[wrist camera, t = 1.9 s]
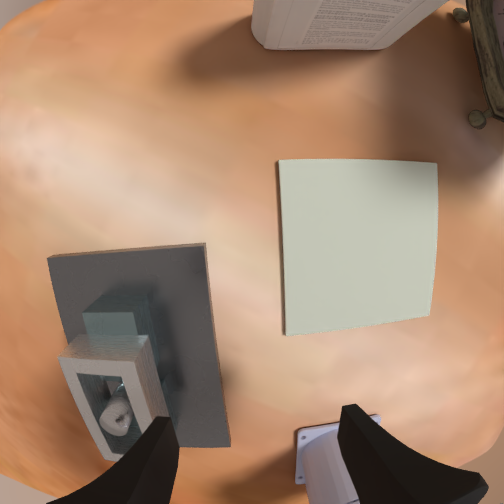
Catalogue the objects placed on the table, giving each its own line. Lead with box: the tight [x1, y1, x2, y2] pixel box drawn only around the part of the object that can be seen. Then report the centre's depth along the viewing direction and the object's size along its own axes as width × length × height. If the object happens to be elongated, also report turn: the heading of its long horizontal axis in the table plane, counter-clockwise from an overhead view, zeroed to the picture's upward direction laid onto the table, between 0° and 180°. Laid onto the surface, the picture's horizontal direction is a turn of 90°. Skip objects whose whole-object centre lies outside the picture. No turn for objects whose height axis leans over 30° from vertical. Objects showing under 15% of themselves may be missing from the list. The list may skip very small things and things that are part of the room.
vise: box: [47, 243, 231, 448], centre depth 18 cm, size 18×12×8 cm, turn 4°
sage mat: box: [278, 159, 438, 336], centre depth 20 cm, size 12×12×1 cm
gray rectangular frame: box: [57, 334, 170, 462], centre depth 16 cm, size 9×5×3 cm, turn 4°
